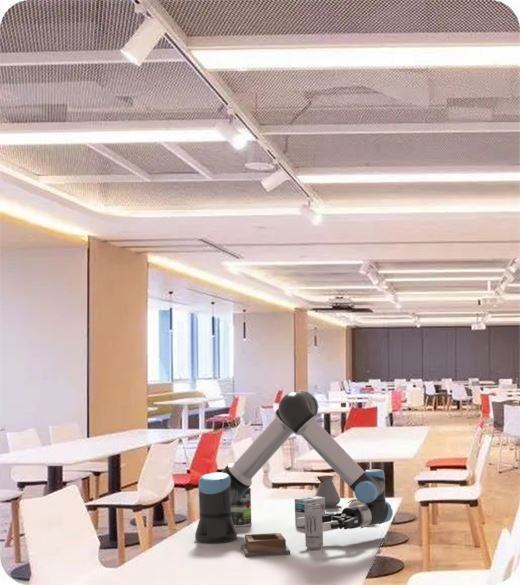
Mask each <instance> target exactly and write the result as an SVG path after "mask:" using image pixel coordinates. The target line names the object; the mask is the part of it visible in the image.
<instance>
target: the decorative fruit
mask: <svg viewBox="0 0 520 585" xmlns="http://www.w3.org/2000/svg"><path fill="white" fill-rule="evenodd" d="M347 504H348V507H353V506H358V505H365V503H362V502H360V501H359V500H358V499H357V498H354V499H351V500H349V501H348V502H347Z"/></svg>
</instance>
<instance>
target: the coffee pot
mask: <svg viewBox="0 0 520 585" xmlns="http://www.w3.org/2000/svg"><path fill="white" fill-rule="evenodd" d="M334 477H335V476H334V475H319V476H316V477H314V479H315V482H318V481H319V485H318V487H317V491H316V492H315V495H314V496H318V497H325V509H328V508H329V509H330V508H335V507H337V505H339V504H340V502H341V497H340V496H339V493H338V491H337V488H336V487H335V485H334V482H333V479H334ZM316 478H317V480H316Z"/></svg>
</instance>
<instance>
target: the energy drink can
mask: <svg viewBox="0 0 520 585" xmlns="http://www.w3.org/2000/svg"><path fill="white" fill-rule="evenodd" d="M304 538H305V547H306V548H307V550H309V549H310V551H318V550H317V549H319V550H322V549H321V548H323V547H324V531H322V508H321V507H320V504H318V503H310V504H306V508H305V528H304Z"/></svg>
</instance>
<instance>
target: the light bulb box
mask: <svg viewBox="0 0 520 585" xmlns="http://www.w3.org/2000/svg"><path fill="white" fill-rule="evenodd" d="M310 503H318V504H320V507H321V508H322V514H326V508H325V497H318V496H315V495H310V496H305V497H304V496H303V497H298V498H294V521H295V522H294V524H295V527H296V528H297V527H298V528H303V529H305V525H303V526H297V521H296V518H301V517H305V508H306V504H310Z"/></svg>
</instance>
